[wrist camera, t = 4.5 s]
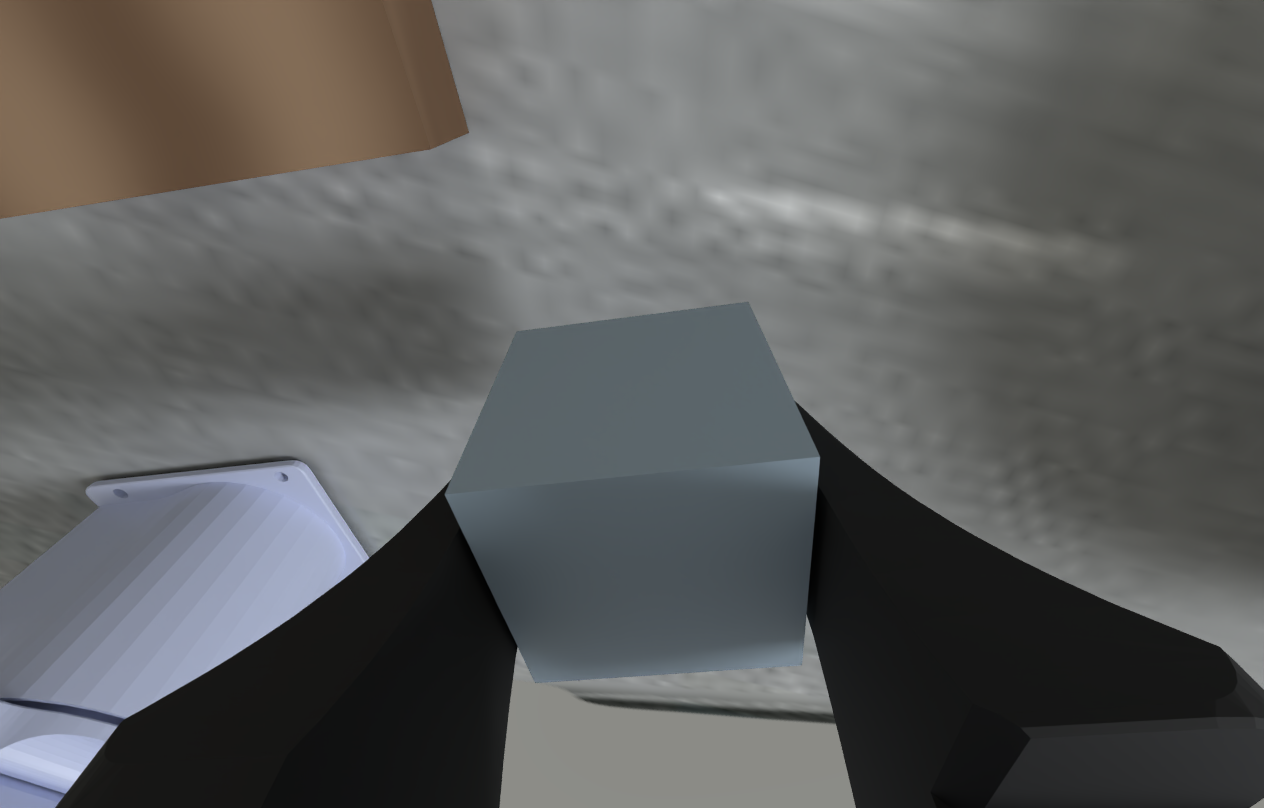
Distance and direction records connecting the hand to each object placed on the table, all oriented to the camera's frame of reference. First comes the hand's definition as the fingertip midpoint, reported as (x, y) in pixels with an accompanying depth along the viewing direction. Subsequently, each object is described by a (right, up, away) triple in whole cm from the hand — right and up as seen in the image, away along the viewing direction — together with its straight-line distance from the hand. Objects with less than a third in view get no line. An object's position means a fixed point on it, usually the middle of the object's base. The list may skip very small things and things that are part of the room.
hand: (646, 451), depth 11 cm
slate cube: (0, +1, +1) cm, 2 cm away
